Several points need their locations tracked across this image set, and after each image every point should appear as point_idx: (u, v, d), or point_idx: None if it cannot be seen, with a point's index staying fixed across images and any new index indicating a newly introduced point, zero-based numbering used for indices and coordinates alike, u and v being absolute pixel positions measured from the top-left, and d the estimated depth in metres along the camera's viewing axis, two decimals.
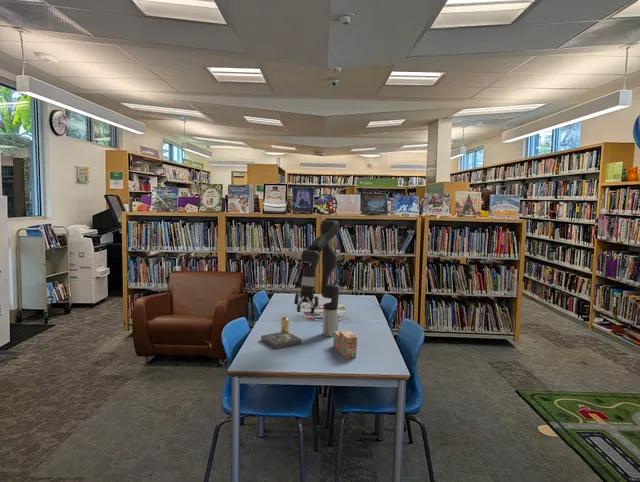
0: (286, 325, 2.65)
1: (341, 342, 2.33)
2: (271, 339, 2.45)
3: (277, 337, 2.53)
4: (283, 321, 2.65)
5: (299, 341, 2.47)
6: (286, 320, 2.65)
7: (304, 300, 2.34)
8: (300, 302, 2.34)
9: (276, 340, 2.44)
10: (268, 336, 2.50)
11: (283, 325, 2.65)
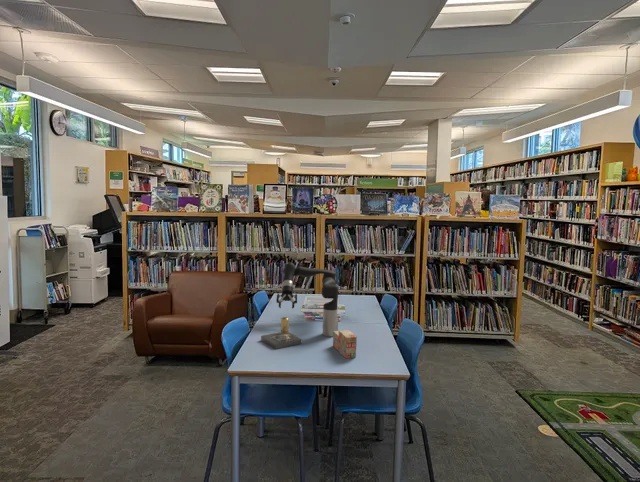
0: (286, 325, 2.65)
1: (341, 342, 2.33)
2: (271, 339, 2.45)
3: (277, 337, 2.53)
4: (283, 321, 2.65)
5: (299, 341, 2.47)
6: (286, 320, 2.65)
7: (285, 297, 2.82)
8: (282, 299, 2.80)
9: (276, 340, 2.44)
10: (268, 336, 2.50)
11: (283, 325, 2.65)
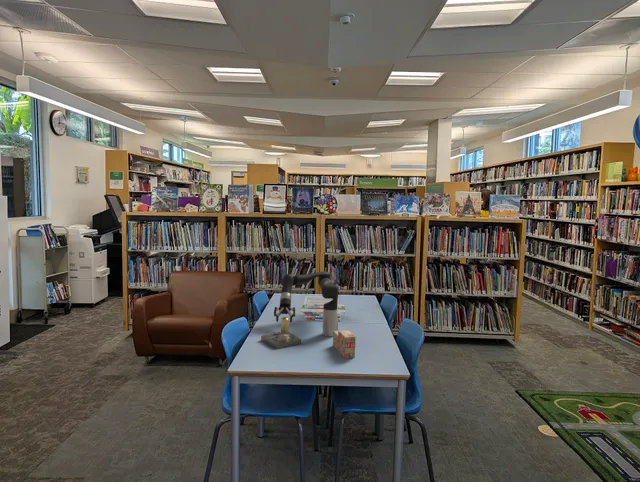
0: (286, 325, 2.65)
1: (340, 342, 2.34)
2: (271, 339, 2.45)
3: (277, 337, 2.53)
4: (283, 321, 2.65)
5: (299, 341, 2.47)
6: (286, 320, 2.65)
7: (283, 311, 2.74)
8: (280, 312, 2.73)
9: (276, 340, 2.44)
10: (268, 336, 2.50)
11: (283, 325, 2.65)
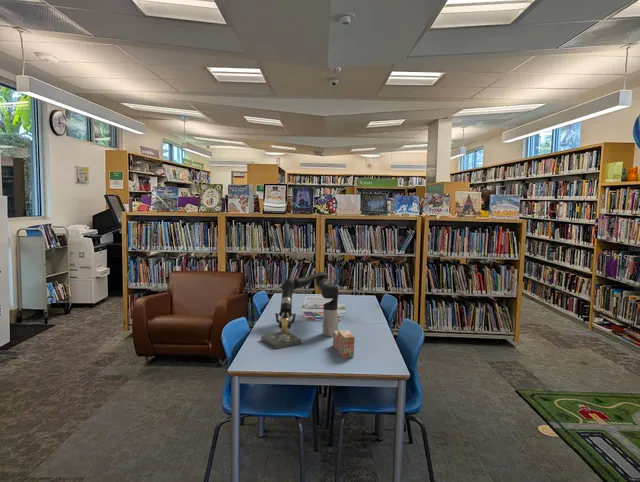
0: (286, 325, 2.65)
1: (339, 342, 2.34)
2: (271, 339, 2.45)
3: (277, 337, 2.53)
4: (283, 321, 2.65)
5: (299, 341, 2.47)
6: (286, 320, 2.65)
7: (285, 315, 2.70)
8: None
9: (276, 340, 2.44)
10: (268, 336, 2.50)
11: (283, 325, 2.65)
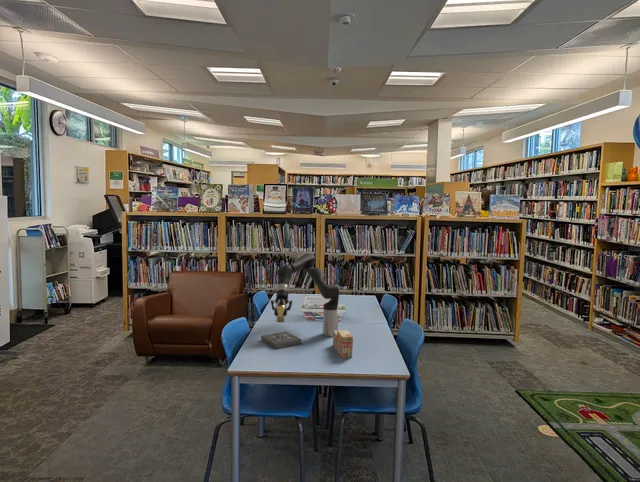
0: (282, 312, 2.51)
1: (338, 341, 2.34)
2: (271, 339, 2.45)
3: (277, 337, 2.53)
4: (279, 308, 2.51)
5: (299, 341, 2.47)
6: (282, 307, 2.51)
7: (281, 303, 2.56)
8: None
9: (276, 340, 2.44)
10: (268, 336, 2.50)
11: (279, 312, 2.51)
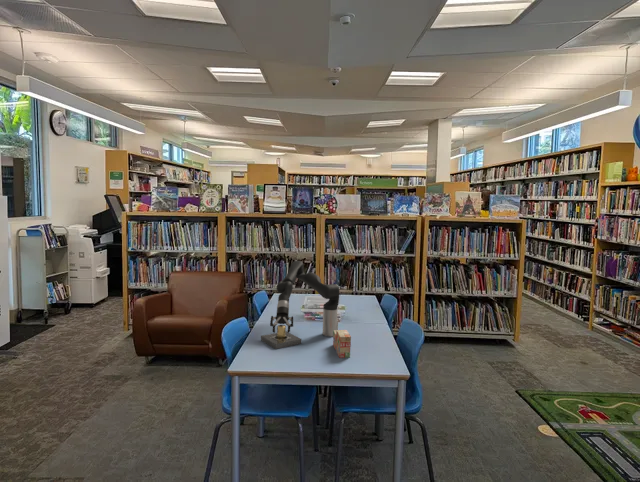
0: (283, 333, 2.48)
1: (337, 341, 2.34)
2: (271, 339, 2.45)
3: None
4: (279, 329, 2.47)
5: (299, 341, 2.47)
6: (283, 328, 2.47)
7: (280, 320, 2.52)
8: (276, 322, 2.51)
9: (276, 340, 2.44)
10: (268, 336, 2.50)
11: (279, 333, 2.47)
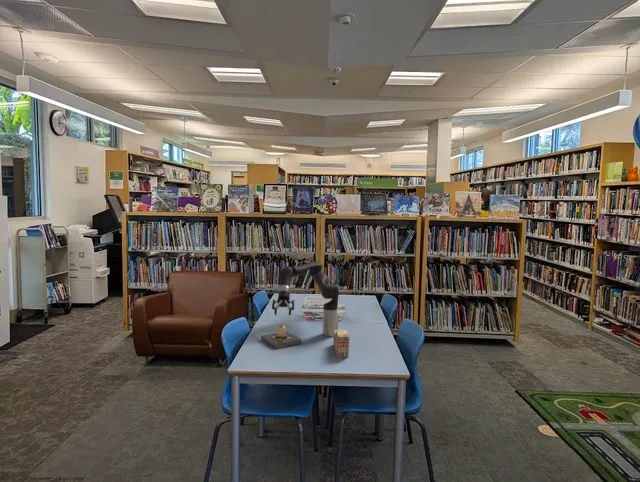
0: (283, 333, 2.48)
1: (336, 341, 2.35)
2: (271, 339, 2.45)
3: None
4: (279, 329, 2.47)
5: (299, 341, 2.47)
6: (283, 328, 2.47)
7: (282, 304, 2.64)
8: (278, 305, 2.62)
9: (276, 340, 2.44)
10: (268, 336, 2.50)
11: (279, 333, 2.47)
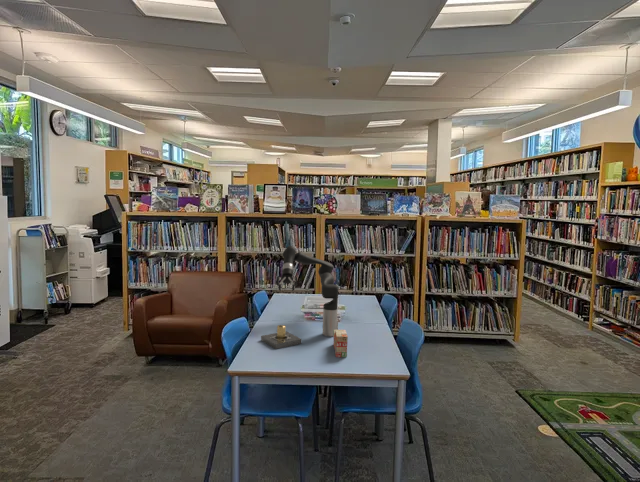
0: (283, 333, 2.48)
1: (335, 341, 2.35)
2: (271, 339, 2.45)
3: None
4: (279, 329, 2.47)
5: (299, 341, 2.47)
6: (283, 328, 2.47)
7: (285, 280, 2.79)
8: (282, 281, 2.78)
9: (276, 340, 2.44)
10: (268, 336, 2.50)
11: (279, 333, 2.47)
